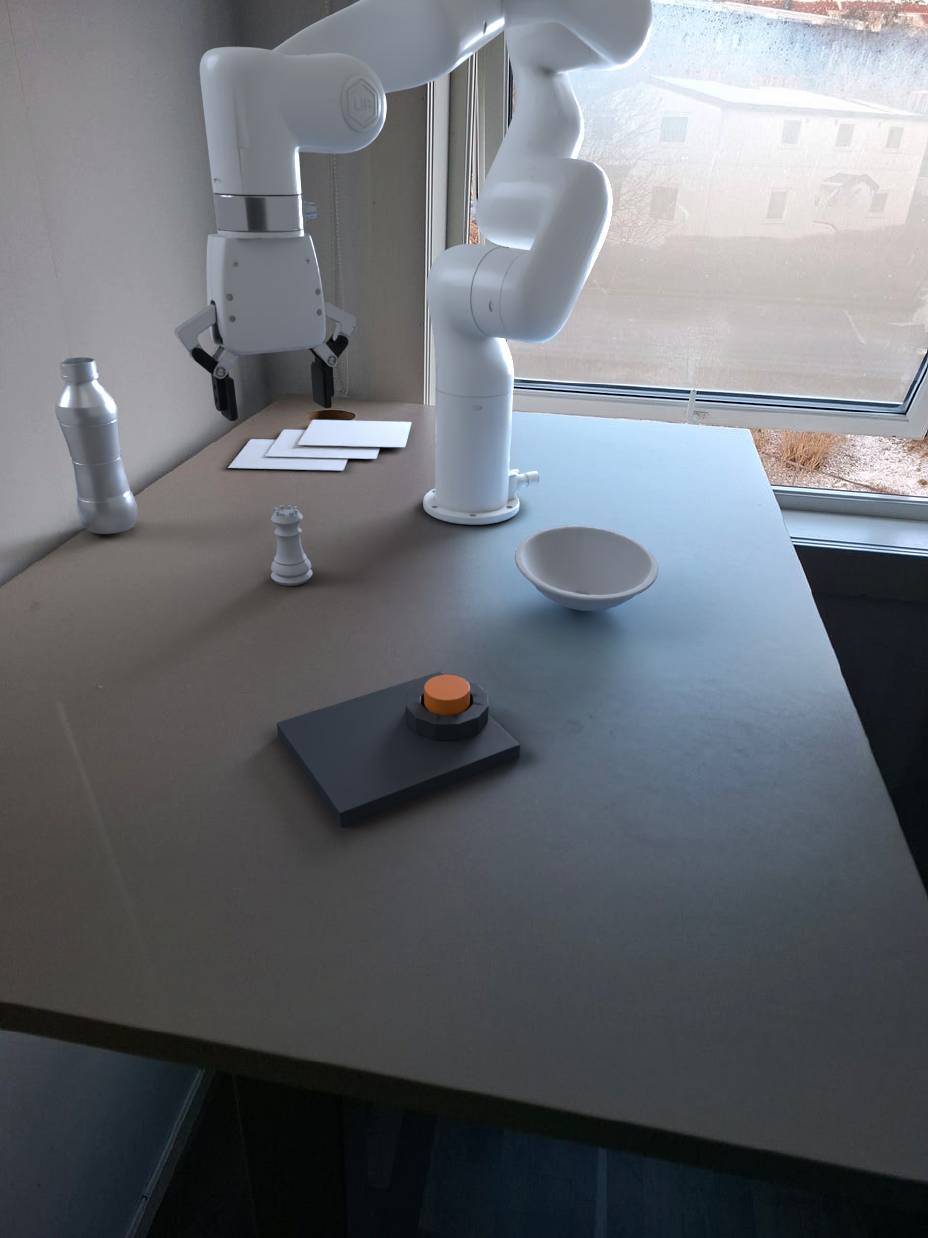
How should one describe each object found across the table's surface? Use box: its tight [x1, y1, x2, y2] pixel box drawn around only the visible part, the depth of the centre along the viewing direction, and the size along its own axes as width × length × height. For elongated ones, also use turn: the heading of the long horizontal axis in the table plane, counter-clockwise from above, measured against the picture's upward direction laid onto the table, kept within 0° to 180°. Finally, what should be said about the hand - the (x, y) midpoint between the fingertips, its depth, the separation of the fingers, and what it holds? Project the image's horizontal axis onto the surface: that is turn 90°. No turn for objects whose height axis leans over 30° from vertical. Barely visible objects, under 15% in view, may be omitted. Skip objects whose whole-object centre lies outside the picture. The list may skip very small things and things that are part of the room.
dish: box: [514, 524, 659, 612], centre depth 86 cm, size 18×14×5 cm
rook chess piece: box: [270, 504, 313, 587], centre depth 89 cm, size 4×4×8 cm
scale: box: [276, 671, 521, 828], centre depth 65 cm, size 15×12×3 cm
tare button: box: [424, 674, 470, 715], centre depth 66 cm, size 4×4×2 cm
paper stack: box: [227, 419, 412, 472], centre depth 131 cm, size 23×25×1 cm
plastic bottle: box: [54, 356, 138, 535], centre depth 97 cm, size 6×7×20 cm
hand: (277, 410), depth 82 cm, fingers open, 9 cm apart
